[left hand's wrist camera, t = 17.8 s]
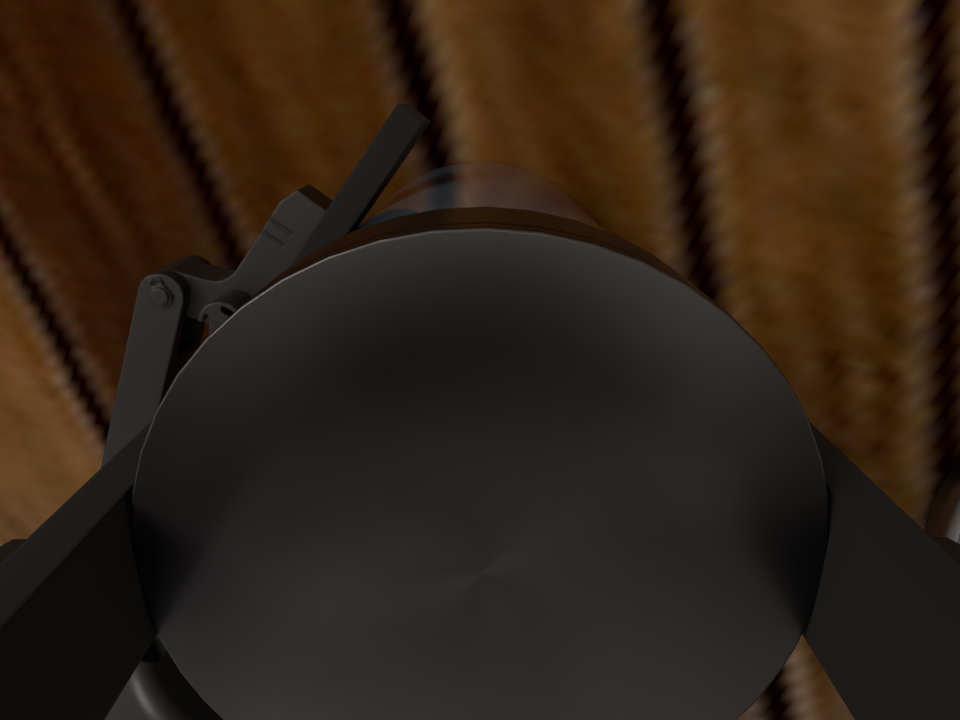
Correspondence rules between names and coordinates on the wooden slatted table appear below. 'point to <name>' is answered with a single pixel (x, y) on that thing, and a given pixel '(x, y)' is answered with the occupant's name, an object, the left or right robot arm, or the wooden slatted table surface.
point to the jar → (480, 193)
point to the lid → (480, 487)
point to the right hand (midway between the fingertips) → (572, 236)
